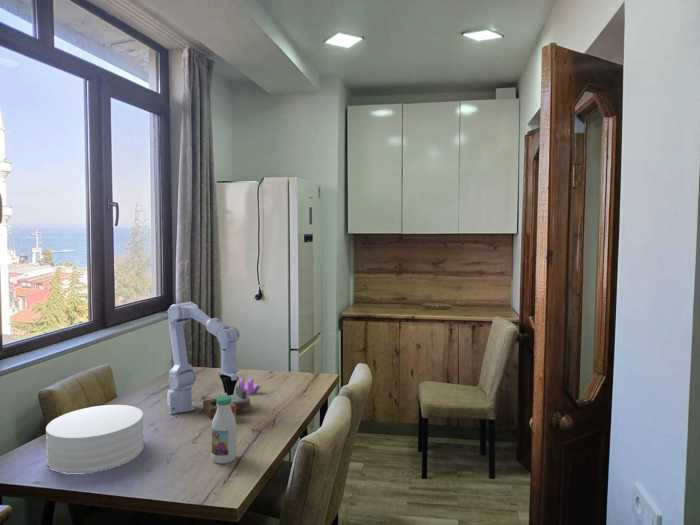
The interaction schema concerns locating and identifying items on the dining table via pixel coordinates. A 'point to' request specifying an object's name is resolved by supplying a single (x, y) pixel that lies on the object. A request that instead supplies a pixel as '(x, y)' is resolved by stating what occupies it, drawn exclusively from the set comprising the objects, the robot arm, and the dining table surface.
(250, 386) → the bracket
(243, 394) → the lid
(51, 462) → the plate stack
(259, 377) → the dining table surface
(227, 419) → the milk bottle
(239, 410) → the brown tray
